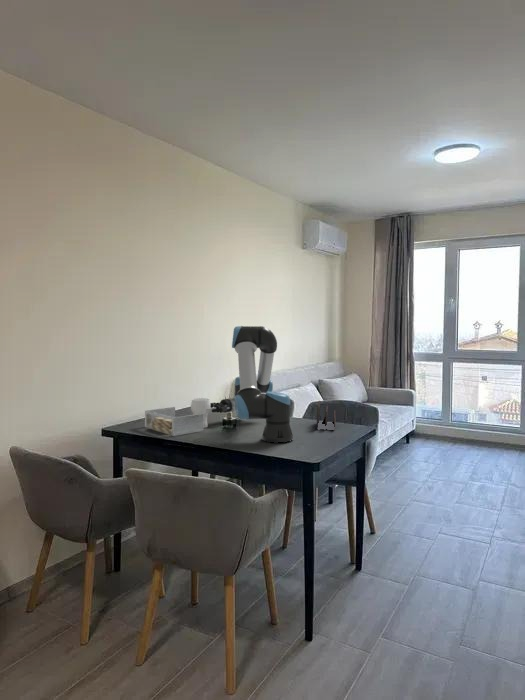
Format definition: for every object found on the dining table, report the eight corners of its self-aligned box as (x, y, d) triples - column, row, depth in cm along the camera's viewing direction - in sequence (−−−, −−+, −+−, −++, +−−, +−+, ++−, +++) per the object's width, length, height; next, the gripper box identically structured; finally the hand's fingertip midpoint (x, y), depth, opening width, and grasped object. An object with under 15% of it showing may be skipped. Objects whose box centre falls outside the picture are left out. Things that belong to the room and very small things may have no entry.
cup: (207, 429, 269) (207, 401, 268) (188, 428, 271) (188, 400, 270) (212, 425, 279) (213, 398, 279) (194, 424, 282) (194, 397, 281)
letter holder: (316, 430, 270) (316, 404, 269) (318, 423, 289) (318, 398, 288) (335, 431, 268) (335, 405, 267) (335, 423, 288) (336, 399, 287)
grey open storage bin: (203, 433, 259) (203, 413, 259) (173, 438, 247) (173, 418, 246) (173, 424, 279) (173, 406, 279) (144, 429, 267) (144, 410, 266)
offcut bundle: (176, 432, 254) (176, 421, 253) (170, 433, 251) (170, 422, 251) (157, 427, 267) (157, 416, 266) (152, 428, 264) (152, 416, 264)
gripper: (242, 414, 280) (212, 419, 265) (214, 408, 298) (185, 413, 283) (242, 401, 279) (212, 405, 265) (215, 396, 297) (185, 399, 283)
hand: (198, 409), depth 274 cm, fingers open, 13 cm apart
